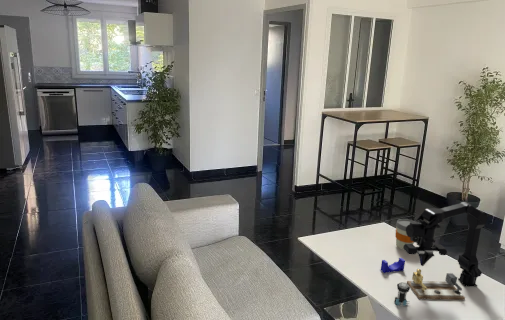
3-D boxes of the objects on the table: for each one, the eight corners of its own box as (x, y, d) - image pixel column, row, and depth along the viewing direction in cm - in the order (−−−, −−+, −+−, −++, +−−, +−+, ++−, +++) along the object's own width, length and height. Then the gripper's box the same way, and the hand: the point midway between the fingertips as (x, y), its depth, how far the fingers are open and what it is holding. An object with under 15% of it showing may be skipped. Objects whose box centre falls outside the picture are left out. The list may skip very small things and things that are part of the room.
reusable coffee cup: (388, 243, 233) (392, 220, 229) (403, 240, 238) (407, 217, 234) (404, 252, 222) (408, 229, 218) (419, 249, 227) (424, 226, 223)
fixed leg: (450, 282, 191) (452, 273, 189) (462, 294, 181) (464, 285, 179) (444, 282, 190) (446, 273, 189) (456, 294, 180) (458, 285, 179)
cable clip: (398, 266, 207) (399, 256, 205) (403, 270, 203) (405, 260, 201) (378, 268, 203) (380, 258, 202) (383, 273, 199) (385, 263, 198)
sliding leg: (417, 281, 189) (420, 267, 187) (427, 293, 179) (430, 279, 178) (411, 280, 189) (414, 267, 187) (421, 293, 179) (424, 279, 177)
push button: (407, 301, 177) (410, 281, 174) (411, 308, 171) (415, 288, 169) (392, 300, 177) (395, 280, 174) (396, 307, 172) (399, 287, 169)
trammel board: (449, 283, 193) (450, 278, 192) (464, 299, 180) (465, 294, 179) (406, 283, 191) (407, 278, 190) (419, 299, 179) (420, 293, 178)
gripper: (437, 228, 189) (432, 257, 193) (401, 227, 188) (396, 256, 192) (450, 239, 179) (444, 269, 183) (411, 238, 177) (405, 268, 181)
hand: (422, 265), depth 185 cm, fingers closed
